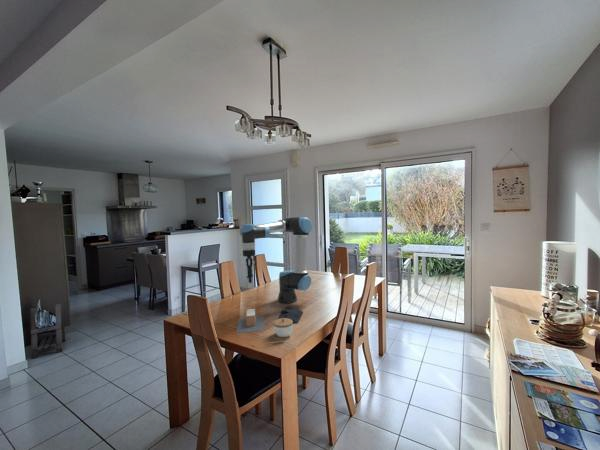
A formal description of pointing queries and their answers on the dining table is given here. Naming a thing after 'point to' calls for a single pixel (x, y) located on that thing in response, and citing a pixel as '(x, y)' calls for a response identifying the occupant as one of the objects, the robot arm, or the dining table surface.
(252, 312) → the block
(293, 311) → the dark slate chunk
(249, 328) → the mat
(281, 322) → the lidded jar
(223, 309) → the dining table surface
